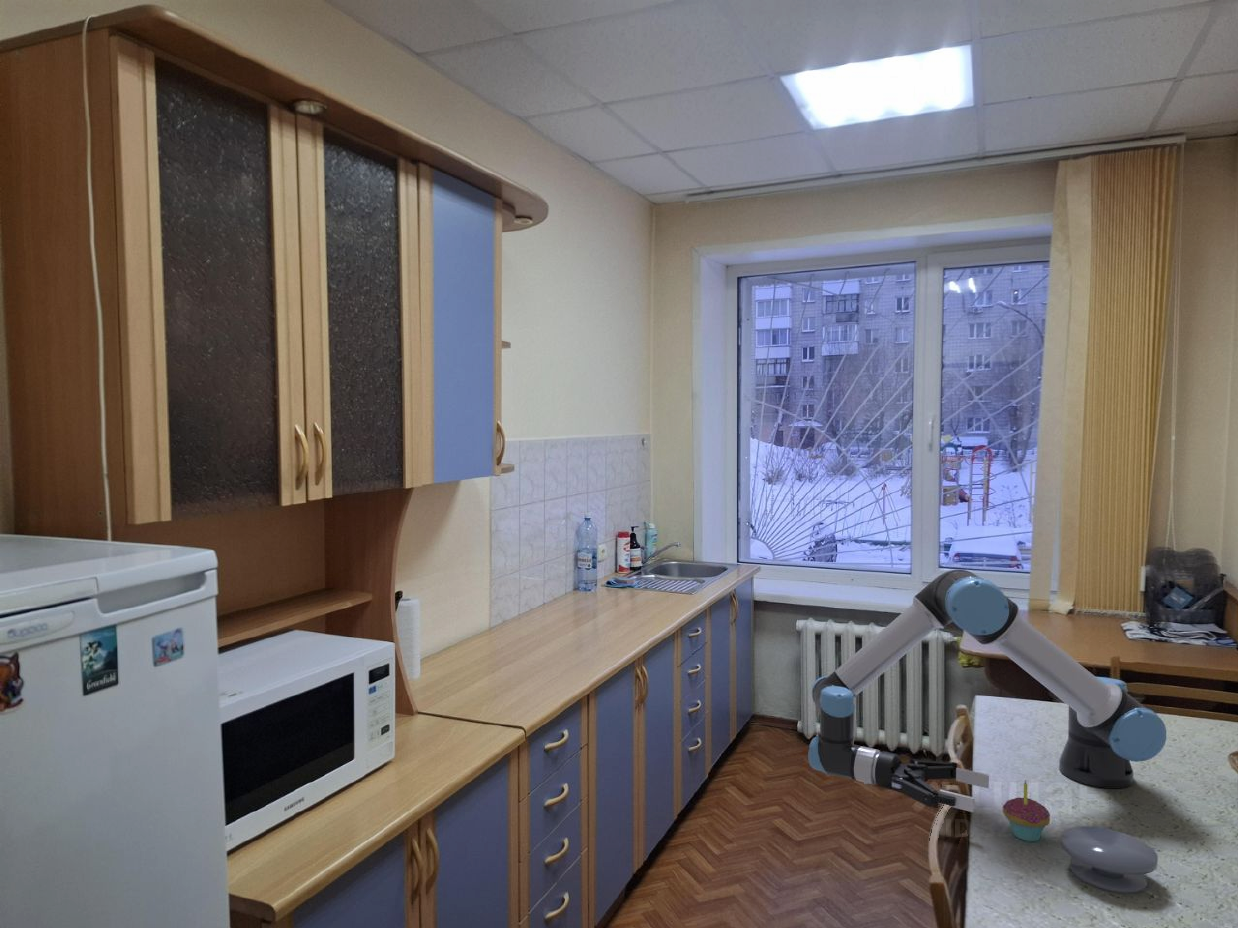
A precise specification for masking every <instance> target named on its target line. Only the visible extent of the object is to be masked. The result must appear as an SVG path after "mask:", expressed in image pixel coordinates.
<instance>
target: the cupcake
mask: <svg viewBox="0 0 1238 928" xmlns="http://www.w3.org/2000/svg"><path fill="white" fill-rule="evenodd" d="M1002 814H1004V816H1005V818H1006V819H1007V820H1008V821H1009V824H1010V828H1011V830H1012V834H1013V835H1014V836H1015V837H1016V838H1018V839H1020V840H1021V841H1022V840H1023V841H1026V842H1037V841H1039V840H1040V839H1041V836H1042V833H1043V831H1044V829H1045V827H1047V826H1049V824H1050V821H1051V818H1050V817H1051V815H1050V812H1049V810H1047V808H1046V807H1045V806H1044V805H1042V804H1041V803H1039V802H1038V801H1037V800H1034V799H1032V798H1029V797H1028V783H1027V780H1026V779H1025V780H1024V783H1023V797H1015V798H1012V799H1008V800H1007V801H1006V802H1005V803H1004V804H1003V805H1002Z"/></svg>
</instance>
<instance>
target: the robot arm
mask: <svg viewBox="0 0 1238 928" xmlns="http://www.w3.org/2000/svg"><path fill="white" fill-rule="evenodd" d="M951 623H954V624H955V625H956V626H957V627H958V628H960V629H961V630H962V631H965V632H966V634H968V635H969V636H971V637H972V638H973V639H974V640H976V641H977V642H978V643H979V644H981V645H982V646H992V645H993V646H994V647H995V648H996V649H998V651H1000V652H1001V653H1002V654H1004V655H1005V656H1007V658H1009V659H1010V660H1011V661H1013V662H1014V663H1015V664H1016V665H1018V666H1019V667H1020V668H1022V670H1024V671H1025V672H1026V673H1028V674H1029V675H1030V676H1031V677H1032V678H1033V679H1035V680H1036V681H1037V682H1039V684H1041V685H1043V686H1044V687H1045V688H1046V689H1047V690H1048V691H1050V692H1051V693H1052V694H1053V695H1054V696H1056V697H1058V699H1060V700H1061V701H1062V702H1063V703H1065V704H1066V705H1067V706H1068V723H1067V724H1068V731H1067V732H1068V734H1067V740H1066V742H1065V745H1064V747H1063V750H1062V752H1061V753H1060V757H1059V761H1058V762H1059V763H1058V764H1059V765H1058V769H1059V772H1060V773H1061V774H1062V775H1064V776H1065V777H1067V778H1069V779H1071V780H1074V781H1076V782H1078V783H1081V784H1084V785H1088V786H1092V787H1097V788H1098V787H1099V788H1106V789H1124V788H1129V787H1131V786H1132V785H1133V783H1134V770H1133V767H1132V764H1131V762H1136V763H1137V762H1146V761H1148V760H1152V759H1153V758H1155V757H1157V756H1158V754H1159V753H1160V752H1161V751H1162V750H1163V749H1164V747H1165V744H1166V741H1167V728H1166V725H1165V723H1164V721H1163V720H1162V718H1161V717H1160V716H1159V715H1158V714H1157V713H1156V712H1155V711H1154V710H1152V709H1149V708H1147V707H1145V706H1144V705H1143V704H1141V702H1139V701H1137V700H1136V699H1135V698H1134V697H1133V696H1131V695H1130V694H1129V693H1128V690H1129V689H1128V688H1127V687H1128V686H1127V684H1126V682H1125V681H1123V680H1121V679H1116V678H1112V677H1111V678H1110V677H1105V676H1104V677H1103V676H1102V677H1101V676H1095V675H1094V674H1093V673H1092V672H1090V671H1088V669H1086V668H1085V667H1084V666H1082V665H1081V664H1080V663H1079V662H1078V661H1077V660H1075V659H1074V658H1073V657H1071V656H1070V655H1069V654H1068V653H1067V652H1065V651H1064V650H1063V649H1062V648H1061V647H1059V646H1058V645H1057V644H1055V643H1054V642H1053V641H1051V640H1050V639H1049V638H1048V637H1046V636H1045V635H1044V634H1043V633H1041V632H1040V631H1039V630H1038V629H1037V628H1035V626H1033V625H1031V623H1029V622H1027V620H1025V619H1024V618H1022V616H1020V607H1019V605H1017V604H1016V602H1014V601H1012V600H1011V598H1009V597H1008V596H1006V595H1005V594H1004V592H1003V591H1002V590H1001V588H1000V587H998V586H997V585H996V584H995V583H993V582H992V581H991V580H988V579H985V578H983V577H981V576H978V575H976V574H975V573H973V572H971V571H969V570H965V569H951V570H947V571H945V572H944V573H941V574H940V575H939V576H937V577H935V578H934V579H933V580H932V581H930V583H928V584H927V585H926V586H924V588H922V589H921V590H920V591H919V592H917V594H915V595H914V596H913V600H912V604H911V605H909V607H907V608H906V609H905V610H904V611H903V612H902V613H900V615H898V616H897V617H895V619H894V620H892V621H891V622H890V623H889V624H888V625H887V626H886V627H884V628H883V629H882V630H880V631H879V632H878V633H877V634H876V635H875V636H874V637H873V638H871V639H870V640H869V641H868V642H867V643H866V644H864V645H863V646H862V647H861V648H860V649H859V650H858V651H857V652H855V653H854V654H853V655H852V656H850V657H849V658H848V659H847V660H846V661H845V662H844V663H843V664H842V665H840V666H839V667H838V668H836V669H835V670H834V671H833V672H832V673H830V674H829V675H827V676H825V675H824V676H821V677H818V679H816V680H815V681H814V682H813V684H812V688H811V695H812V700H813V702H814V705H815V706H816V709H817V713H818V714H819V730H820V731H819V736H815V737H813V738H812V739H811V741H810V744H809V747H808V748H809V749H808V754H807V759H808V763H809V765H810V767H811V768H812V769H813V770H816V771H819V772H822V773H824V774H827V775H832V776H836V777H839V778H840V777H841V778H844V779H849V780H853V781H857V782H861V783H863V784H864V785H865V786H867V785H872V786H874V785H877V787H880V788H884V789H887V790H892V791H894V792H897V793H900V794H903V795H905V796H907V797H908V798H911V799H912V800H915V801H916V802H919V803H921V804H922V805H924V806H927V807H930V808H931V807H932V808H934V809H938V808H939V804H940V805H943V806H946V805H949V806H948V807H950V808H955V809H957V810H962V811H967V812H970V813H974V812H975V797H973V796H969V795H965V794H961V793H956V792H952V791H948V790H946V789H945V790H944V789H939V791H938V790H937V789H936V788H934V787H933V786H931V785H930V784H928V783H927V782H928V781H929V780H952V779H953V780H955V782H959V783H963V784H968V785H972V786H975V787H981V788H984V789H989V788H990V774H987V773H983V772H978V771H974V770H970V769H966V768H962V767H961V768H960V767H958V762H955V761H953V762H952V761H939V760H938V761H936V760H923V759H922V760H921V759H916V758H909V759H908V760H909V761H908V763H903V762H902V761H901V757H900V756H899V755H898V754H897V753H893V752H889V751H884V750H883V751H881V750H879V749H875V748H871V747H868V746H867V747H866V746H861V745H857V744H854V738H855V735H854V732H855V709H856V704H855V698H856V697H857V696H858V695H859V694H860V693H862V692H863V691H864V690H865V689H866V688H867V687H868V686H870V685H871V684H872V683H873V682H875V681H876V680H877V679H878V678H879V677H880V676H881V675H883V674H884V673H885V672H887V670H889V669H890V668H892V666H893V665H894V664H896V663H898V661H899V660H901V659H902V658H903V657H904V656H905V655H906V654H908V653H909V652H910V651H911V650H913V648H915V647H916V646H917V645H918V644H920V643H921V642H922V641H923V640H924V639H925V638H926V637H928V636H929V635H930V634H931V633H932V632H934V631H935V630H936V629H945V628H946V626H948V625H949V624H951ZM944 804H946V805H944Z"/></svg>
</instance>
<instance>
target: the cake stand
mask: <svg viewBox="0 0 1238 928" xmlns="http://www.w3.org/2000/svg"><path fill="white" fill-rule="evenodd" d="M1061 846H1062V848H1063V850H1064V851H1065V852H1066V853H1067V854H1068V855H1069V856H1071V857H1072V858H1071V859H1070V861H1069V863H1070V864H1069V869H1070V870H1071V871H1070V872H1072V874H1073V875H1074V876H1075V877H1076V878H1078V879H1079V880H1081V881H1082V882H1084V883H1086V884H1087V885H1089V886H1092V887H1094V888H1096V889H1100V890H1103V891H1106V892H1112V893H1115V894H1116V893H1117V894H1125V895H1126V894H1127V895H1128V894H1129V895H1131V894H1138V893H1141V892H1144V891H1145V890H1146V888H1147V886H1148V879H1147V877H1146V874H1150V873H1152V872H1154V871H1156V870H1157V868H1158V857H1159V856H1158V854H1157V852H1156V851H1155V850H1154V849H1153V848H1152V847H1151V846H1150V845H1149V844H1147V843H1146V842H1143V841H1142V840H1141V839H1139V838H1136V837H1134V836H1131V835H1129V834H1126V833H1123V832H1120V831H1118V830H1114V829H1109V828H1105V827H1097V826H1090V825H1088V826H1085V825H1083V826H1074V827H1069V828H1067V829H1066V830H1064V831H1063V832H1062V834H1061Z"/></svg>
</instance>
